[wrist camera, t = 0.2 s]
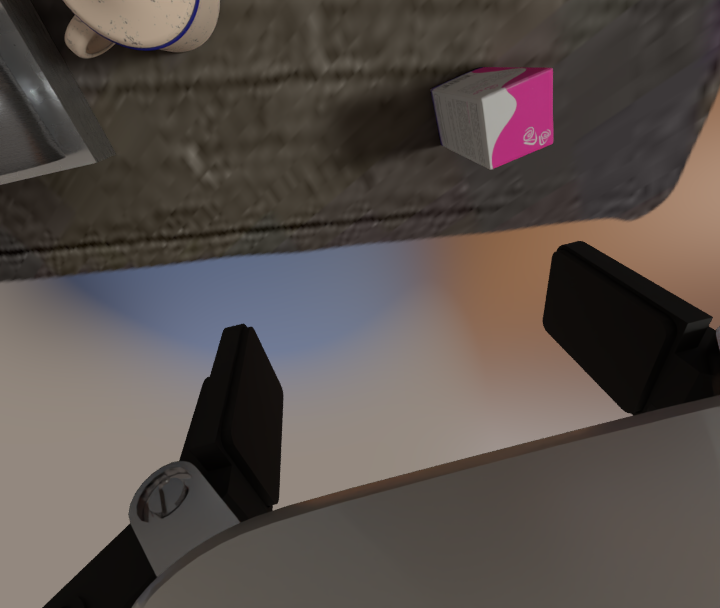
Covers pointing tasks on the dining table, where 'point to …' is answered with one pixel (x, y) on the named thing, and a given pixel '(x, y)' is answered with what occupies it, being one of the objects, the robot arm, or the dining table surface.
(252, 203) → the dining table surface
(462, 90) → the supplement box
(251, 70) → the dining table surface
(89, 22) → the teacup with lid
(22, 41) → the white desk organizer
